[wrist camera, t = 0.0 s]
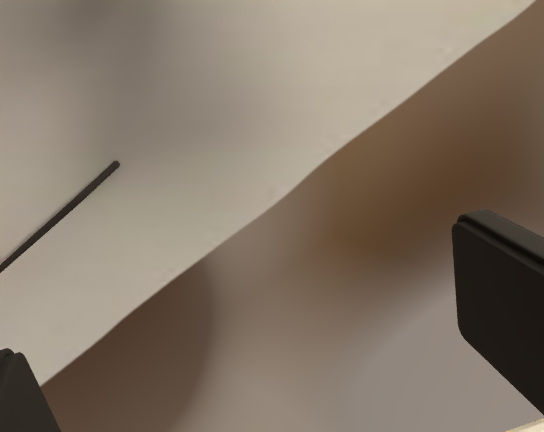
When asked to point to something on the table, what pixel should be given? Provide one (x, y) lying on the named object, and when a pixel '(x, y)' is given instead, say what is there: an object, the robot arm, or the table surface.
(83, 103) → the table surface
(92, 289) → the table surface
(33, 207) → the table surface
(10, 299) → the table surface
